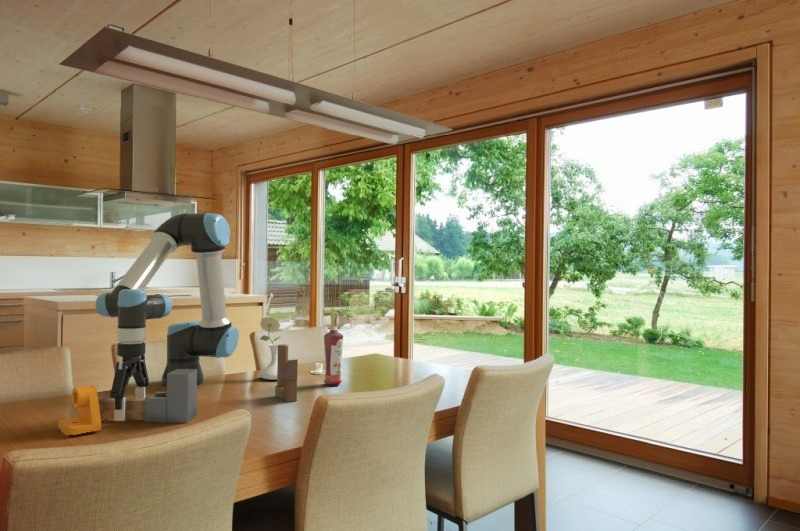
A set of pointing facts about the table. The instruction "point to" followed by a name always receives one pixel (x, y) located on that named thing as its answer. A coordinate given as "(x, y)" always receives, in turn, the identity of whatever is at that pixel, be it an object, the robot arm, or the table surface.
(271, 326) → the flower in vase
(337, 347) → the liquor
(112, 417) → the brown wooden bar
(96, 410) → the bracket
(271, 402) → the table surface
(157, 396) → the grey stepped block
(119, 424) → the table surface
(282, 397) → the wooden block
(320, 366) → the teacup and saucer
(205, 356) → the robot arm
